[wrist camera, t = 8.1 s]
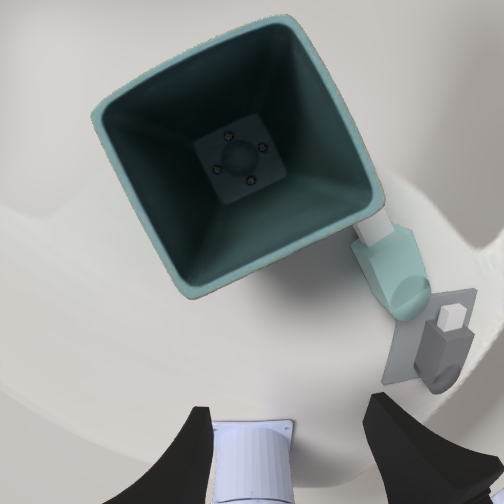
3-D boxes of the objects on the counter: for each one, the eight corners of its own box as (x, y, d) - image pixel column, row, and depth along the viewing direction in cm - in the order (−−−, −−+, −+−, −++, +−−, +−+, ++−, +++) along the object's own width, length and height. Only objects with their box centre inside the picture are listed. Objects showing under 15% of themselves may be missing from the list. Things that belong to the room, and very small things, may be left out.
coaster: (450, 364, 23) (453, 367, 23) (381, 381, 23) (383, 385, 23) (473, 288, 21) (477, 290, 20) (401, 297, 21) (404, 300, 20)
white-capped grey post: (436, 368, 22) (453, 389, 19) (409, 375, 22) (425, 398, 19) (457, 298, 20) (480, 315, 17) (430, 302, 20) (453, 321, 17)
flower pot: (329, 191, 19) (392, 208, 10) (212, 247, 20) (185, 306, 11) (272, 76, 16) (290, 8, 8) (154, 134, 17) (85, 110, 9)
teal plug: (412, 285, 21) (435, 303, 17) (378, 307, 21) (398, 329, 18) (377, 198, 19) (401, 205, 15) (338, 222, 19) (357, 233, 16)
